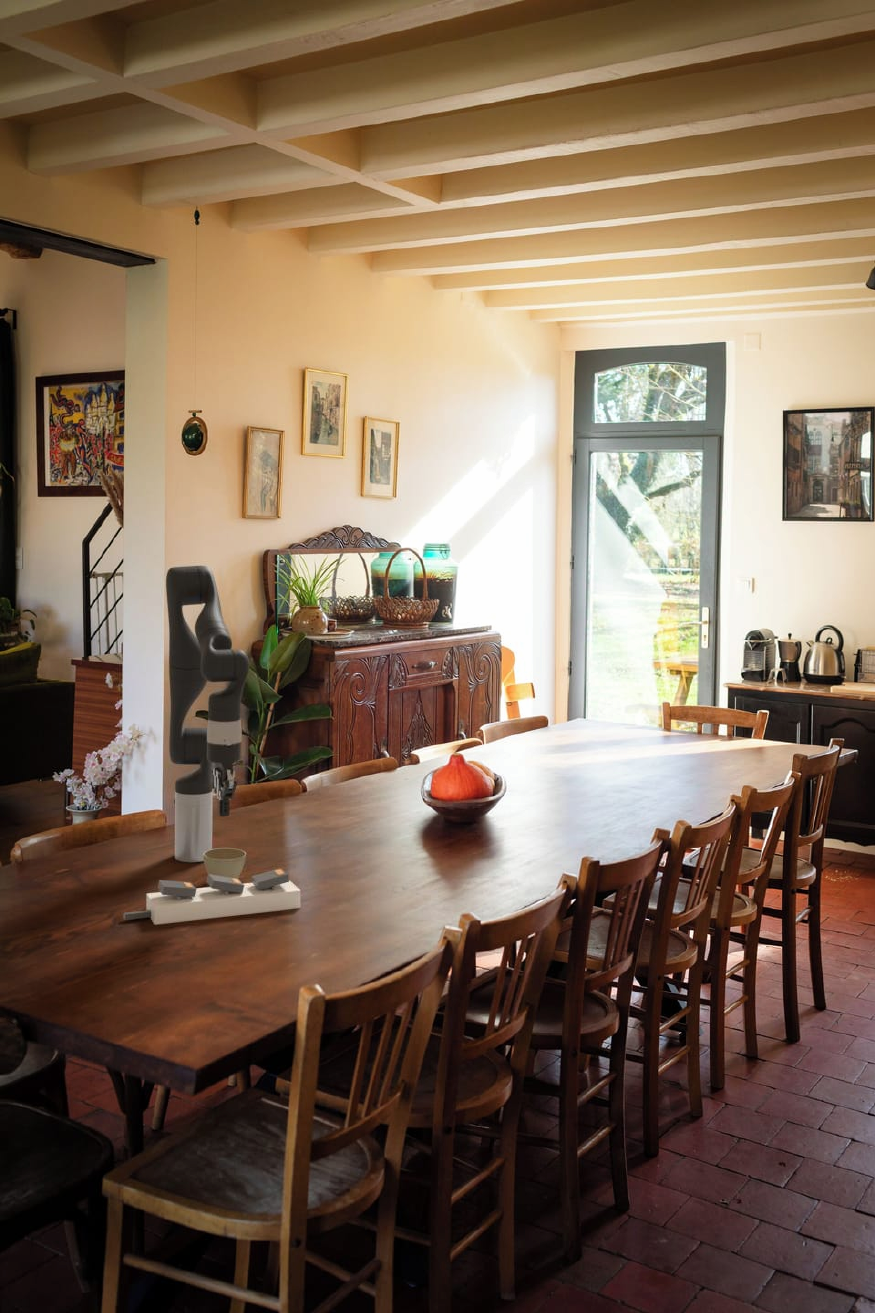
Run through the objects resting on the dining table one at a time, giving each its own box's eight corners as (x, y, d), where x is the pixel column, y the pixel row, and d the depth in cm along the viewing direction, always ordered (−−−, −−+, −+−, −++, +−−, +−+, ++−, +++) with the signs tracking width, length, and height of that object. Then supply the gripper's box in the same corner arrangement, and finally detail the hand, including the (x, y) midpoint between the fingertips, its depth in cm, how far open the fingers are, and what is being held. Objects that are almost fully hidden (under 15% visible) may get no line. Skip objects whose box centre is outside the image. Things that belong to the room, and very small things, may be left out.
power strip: (120, 914, 252) (120, 892, 251) (287, 896, 267) (288, 875, 267) (128, 927, 243) (128, 905, 243) (300, 908, 259) (300, 887, 259)
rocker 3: (252, 883, 261) (251, 875, 261) (282, 875, 264) (281, 867, 264) (259, 890, 257) (257, 882, 256) (289, 881, 260) (287, 873, 259)
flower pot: (204, 890, 270) (204, 860, 269) (201, 877, 279) (201, 848, 278) (248, 888, 272) (248, 858, 272) (243, 875, 282) (243, 846, 281)
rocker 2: (206, 882, 257) (208, 873, 257) (236, 886, 260) (238, 878, 260) (211, 888, 252) (214, 880, 252) (242, 893, 255) (244, 884, 255)
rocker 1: (157, 888, 252) (159, 879, 252) (189, 890, 255) (191, 881, 255) (162, 895, 248) (164, 886, 248) (194, 897, 251) (196, 888, 251)
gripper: (199, 734, 262) (199, 809, 265) (215, 746, 250) (214, 825, 253) (232, 732, 265) (231, 806, 268) (249, 744, 254) (248, 822, 256)
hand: (223, 815), depth 260 cm, fingers closed
